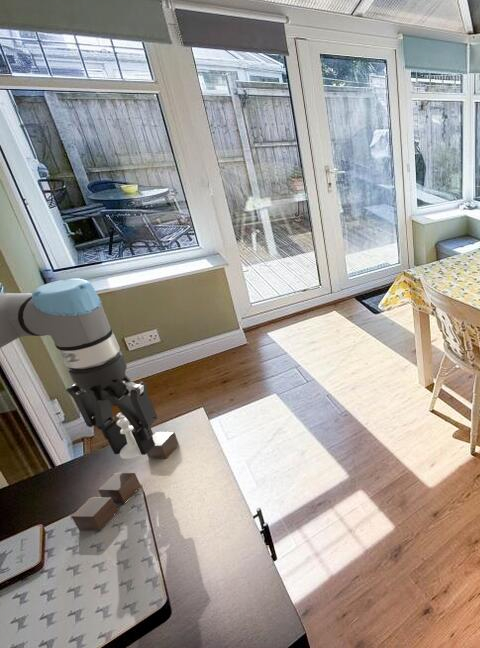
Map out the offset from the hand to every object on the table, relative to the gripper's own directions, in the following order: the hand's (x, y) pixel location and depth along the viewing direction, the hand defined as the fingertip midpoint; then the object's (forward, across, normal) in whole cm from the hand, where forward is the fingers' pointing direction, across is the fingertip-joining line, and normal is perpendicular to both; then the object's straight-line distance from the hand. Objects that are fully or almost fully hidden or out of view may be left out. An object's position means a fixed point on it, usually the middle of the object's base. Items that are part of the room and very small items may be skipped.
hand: (135, 449), depth 87 cm
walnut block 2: (+7, 0, -6) cm, 9 cm away
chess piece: (0, 0, 0) cm, 0 cm away
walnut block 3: (+7, 0, +6) cm, 9 cm away
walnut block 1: (+7, 0, -11) cm, 13 cm away
